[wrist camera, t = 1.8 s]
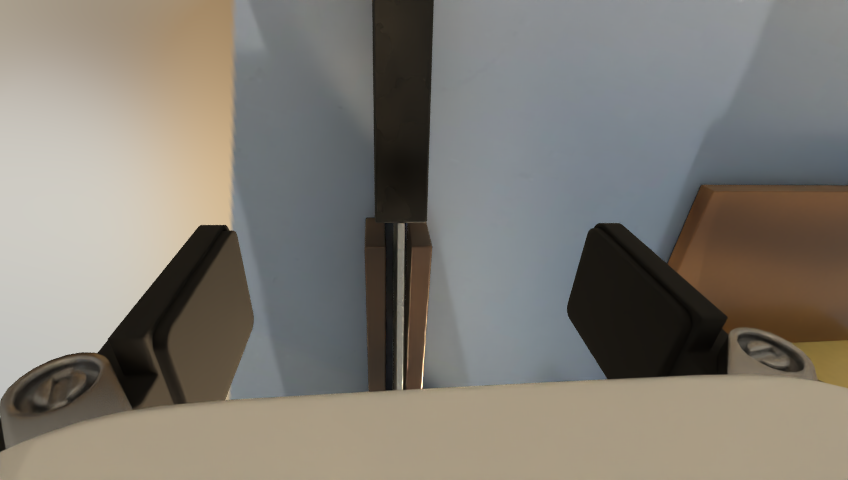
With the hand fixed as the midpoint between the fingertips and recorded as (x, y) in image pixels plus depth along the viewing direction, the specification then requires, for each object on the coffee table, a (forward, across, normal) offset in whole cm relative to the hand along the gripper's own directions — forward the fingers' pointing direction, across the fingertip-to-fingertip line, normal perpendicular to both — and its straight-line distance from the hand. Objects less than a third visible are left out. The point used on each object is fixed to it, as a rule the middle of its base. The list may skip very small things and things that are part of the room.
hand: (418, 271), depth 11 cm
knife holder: (+10, 0, +10) cm, 15 cm away
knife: (+10, 0, +4) cm, 11 cm away
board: (+11, -26, +12) cm, 30 cm away
